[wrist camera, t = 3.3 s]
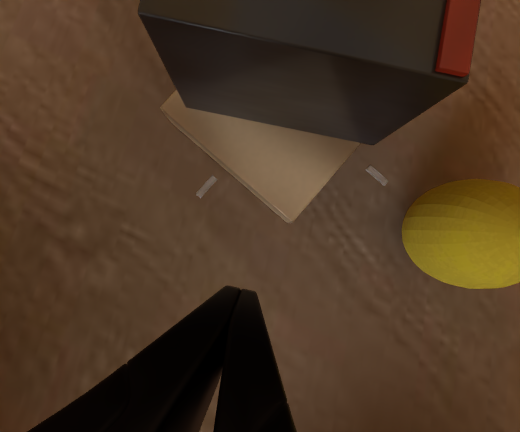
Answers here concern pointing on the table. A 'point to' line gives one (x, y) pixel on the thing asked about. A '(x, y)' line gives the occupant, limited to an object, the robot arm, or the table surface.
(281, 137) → the flat tan square board
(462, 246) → the lemon
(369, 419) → the table surface
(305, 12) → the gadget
